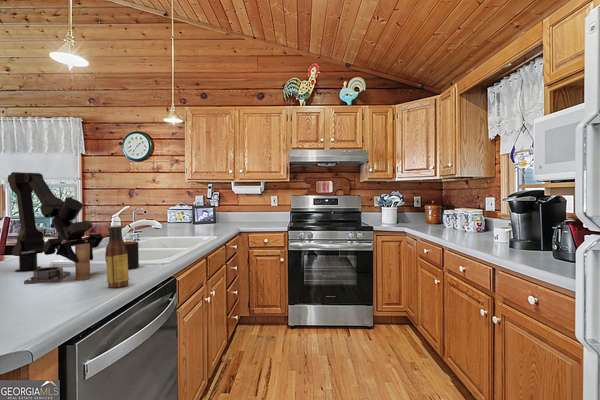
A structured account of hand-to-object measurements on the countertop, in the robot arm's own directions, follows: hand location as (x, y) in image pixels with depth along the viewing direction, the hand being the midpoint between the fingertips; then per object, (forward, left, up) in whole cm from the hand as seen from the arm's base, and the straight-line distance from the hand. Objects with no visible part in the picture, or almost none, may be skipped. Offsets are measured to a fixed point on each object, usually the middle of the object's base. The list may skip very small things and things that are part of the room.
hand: (85, 261), depth 123 cm
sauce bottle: (+13, +13, -7) cm, 20 cm away
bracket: (-5, -13, -7) cm, 15 cm away
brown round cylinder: (-1, -1, -7) cm, 7 cm away
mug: (-16, +9, -7) cm, 20 cm away
